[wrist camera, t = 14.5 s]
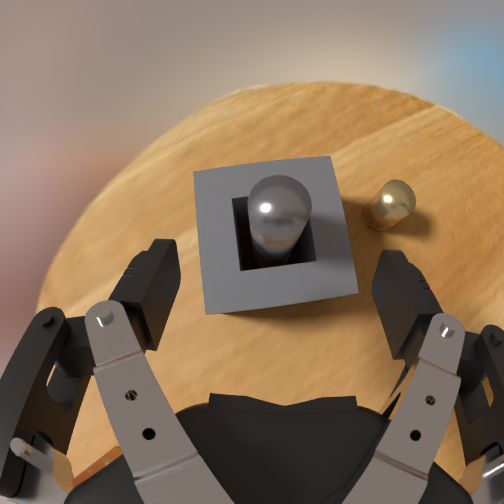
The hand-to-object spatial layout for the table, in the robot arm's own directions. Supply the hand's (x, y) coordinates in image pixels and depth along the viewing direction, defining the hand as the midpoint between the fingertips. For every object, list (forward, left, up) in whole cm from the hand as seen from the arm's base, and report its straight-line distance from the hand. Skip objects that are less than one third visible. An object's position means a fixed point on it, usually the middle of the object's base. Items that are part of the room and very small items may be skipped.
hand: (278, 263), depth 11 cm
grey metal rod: (-1, -3, -15) cm, 15 cm away
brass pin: (-12, -5, -15) cm, 20 cm away
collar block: (-1, -3, -15) cm, 15 cm away
